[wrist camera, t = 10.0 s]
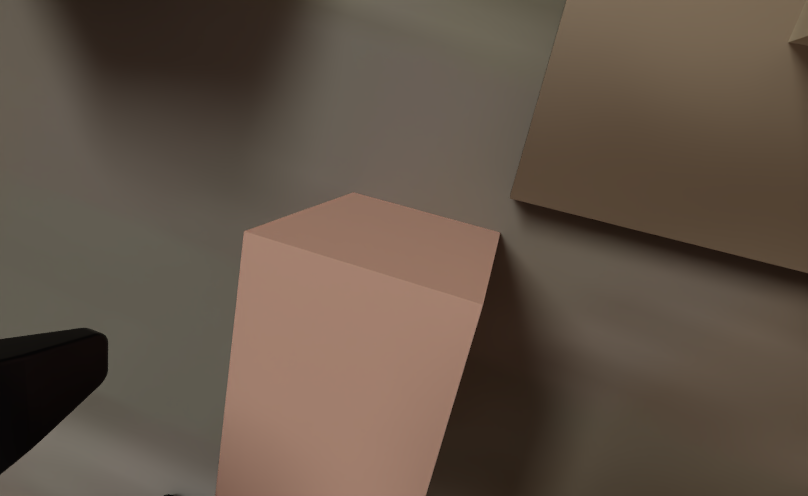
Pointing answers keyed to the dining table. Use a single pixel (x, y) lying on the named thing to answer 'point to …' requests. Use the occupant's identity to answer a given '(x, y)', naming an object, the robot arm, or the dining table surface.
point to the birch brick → (801, 28)
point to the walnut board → (677, 124)
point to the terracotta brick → (349, 348)
